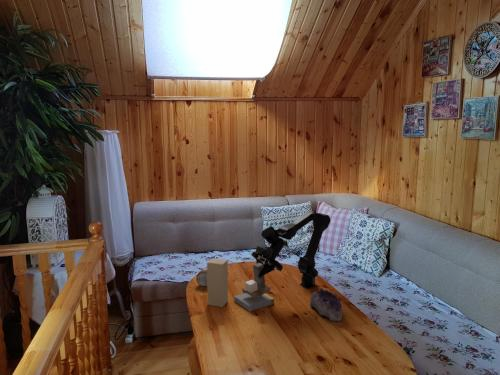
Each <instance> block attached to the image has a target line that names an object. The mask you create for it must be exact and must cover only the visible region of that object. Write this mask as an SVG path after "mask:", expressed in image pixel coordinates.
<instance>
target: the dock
mask: <svg viewBox="0 0 500 375" xmlns="http://www.w3.org/2000/svg"><path fill="white" fill-rule="evenodd" d="M233 297H234V302H235V303H237V304H238V305H240V306H241V307H242V308H244V309H246V310H247V312H252V311H255V310H258V309H261V308H264V307H268V306H271V305H273V304H275V298H274V297H272V296H270V295H269V294H268V293H265V294H263V295H260V296H258V297H256V298H251V296H250V295H249V294H247V293H241V294H238V295H234V296H233Z"/></svg>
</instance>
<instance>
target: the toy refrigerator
mask: <svg viewBox="0 0 500 375" xmlns="http://www.w3.org/2000/svg"><path fill="white" fill-rule="evenodd" d="M228 262H229V260H228V259H222V258H216V257H213V258H211V259H210V260H208V261H207V262H206V267H207V268H206V270H207V287H206V289H207V291H206V292H207V296H206V297H207V305H208V306H213V307H220V308H223V307H224V306H225V305H226V304H227V303H228V299H229V298H228V297H229V294H228V291H229V290H228V289H229V287H228V286H229V285H228V284H229V281H228V280H229V279H228V278H229V277H228V275H229V274H228V271H229V270H228V269H229V268H228V266H229V263H228Z"/></svg>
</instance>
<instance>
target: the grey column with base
mask: <svg viewBox="0 0 500 375" xmlns="http://www.w3.org/2000/svg"><path fill="white" fill-rule="evenodd" d="M263 264H264V263H263ZM263 264H261V263H257V264H256V263H254V264H252V270H253V278H254V279H253V280H254V281H256V282H257V288H258V290H256V291H254V292H252V293H250V292H248V291H247V290H246V286H245V287H243V288H241V290H242V294H244V293H247V294H249V295H250V296H251V298H256V297H258V296H260V295H263V294H268V293H269V292H270V291H271V287H270V286H268V285H266V280H265V278H266V277H265V275H264V276H262V277H259V274H260V272H261V271H262V269H263V267H264V266H263Z"/></svg>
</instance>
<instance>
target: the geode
mask: <svg viewBox="0 0 500 375" xmlns="http://www.w3.org/2000/svg"><path fill="white" fill-rule="evenodd" d="M341 299H342V298H341V297H337V295H336V293H333V292H331V291H329V290H327V289H323V288H320V289H319V290H317V291H313V292H312V293H311V296H310V300H309V301H310V303H309V305H310V306H311V307H312V308H313V309H315V310H316V312H317V313H318V315H319V316H321V317H326V318H328V320H329V322H331V323H341V322H342V319H343V306H342V303H341Z"/></svg>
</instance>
